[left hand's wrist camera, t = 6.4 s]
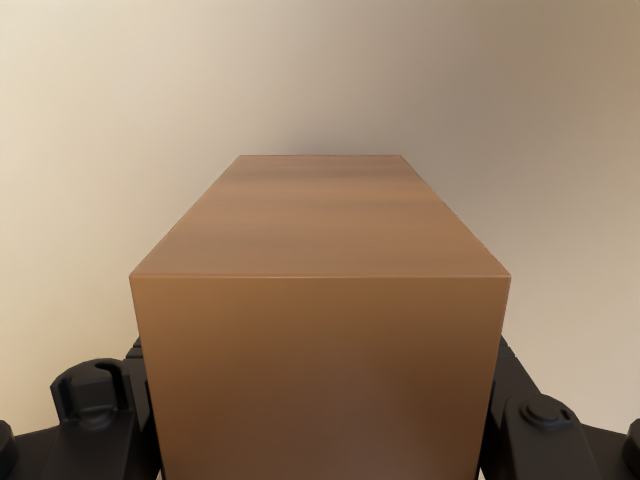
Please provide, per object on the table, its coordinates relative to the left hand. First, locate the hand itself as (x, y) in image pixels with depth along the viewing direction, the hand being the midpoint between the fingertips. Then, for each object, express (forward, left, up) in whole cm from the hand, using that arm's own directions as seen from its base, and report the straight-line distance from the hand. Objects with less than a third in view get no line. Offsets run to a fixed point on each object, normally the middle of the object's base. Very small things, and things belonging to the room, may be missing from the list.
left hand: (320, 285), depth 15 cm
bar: (+5, +5, -1) cm, 7 cm away
